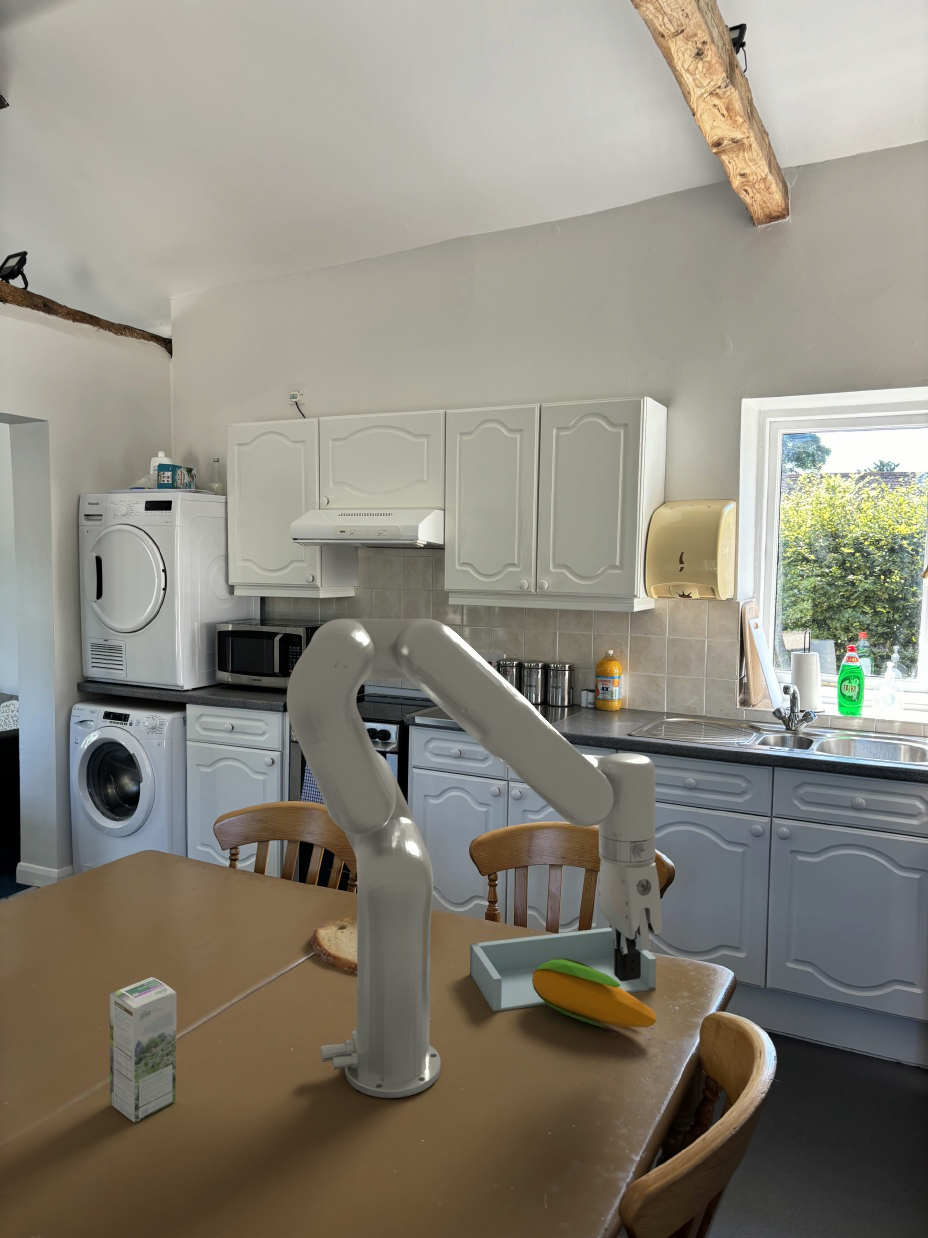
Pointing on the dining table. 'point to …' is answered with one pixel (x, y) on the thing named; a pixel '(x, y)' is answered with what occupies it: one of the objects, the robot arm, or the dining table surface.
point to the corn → (588, 995)
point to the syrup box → (142, 1048)
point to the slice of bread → (338, 944)
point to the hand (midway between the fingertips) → (627, 977)
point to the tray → (513, 961)
